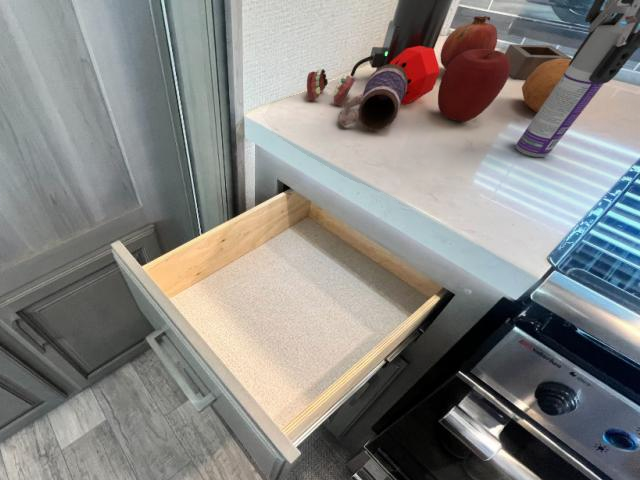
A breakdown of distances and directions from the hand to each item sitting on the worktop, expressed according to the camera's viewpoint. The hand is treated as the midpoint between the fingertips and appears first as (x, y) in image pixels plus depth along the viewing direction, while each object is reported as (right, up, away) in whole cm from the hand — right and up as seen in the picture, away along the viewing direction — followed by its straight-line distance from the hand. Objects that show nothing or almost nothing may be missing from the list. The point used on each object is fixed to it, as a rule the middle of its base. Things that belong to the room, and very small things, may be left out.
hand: (587, 74), depth 43 cm
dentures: (-25, +10, +18) cm, 32 cm away
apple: (-7, +3, +16) cm, 18 cm away
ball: (-16, +12, +21) cm, 29 cm away
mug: (-21, +9, +17) cm, 28 cm away
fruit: (+2, +20, +29) cm, 36 cm away
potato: (+10, +5, +17) cm, 21 cm away
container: (0, -6, +8) cm, 11 cm away
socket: (+18, +21, +30) cm, 41 cm away
